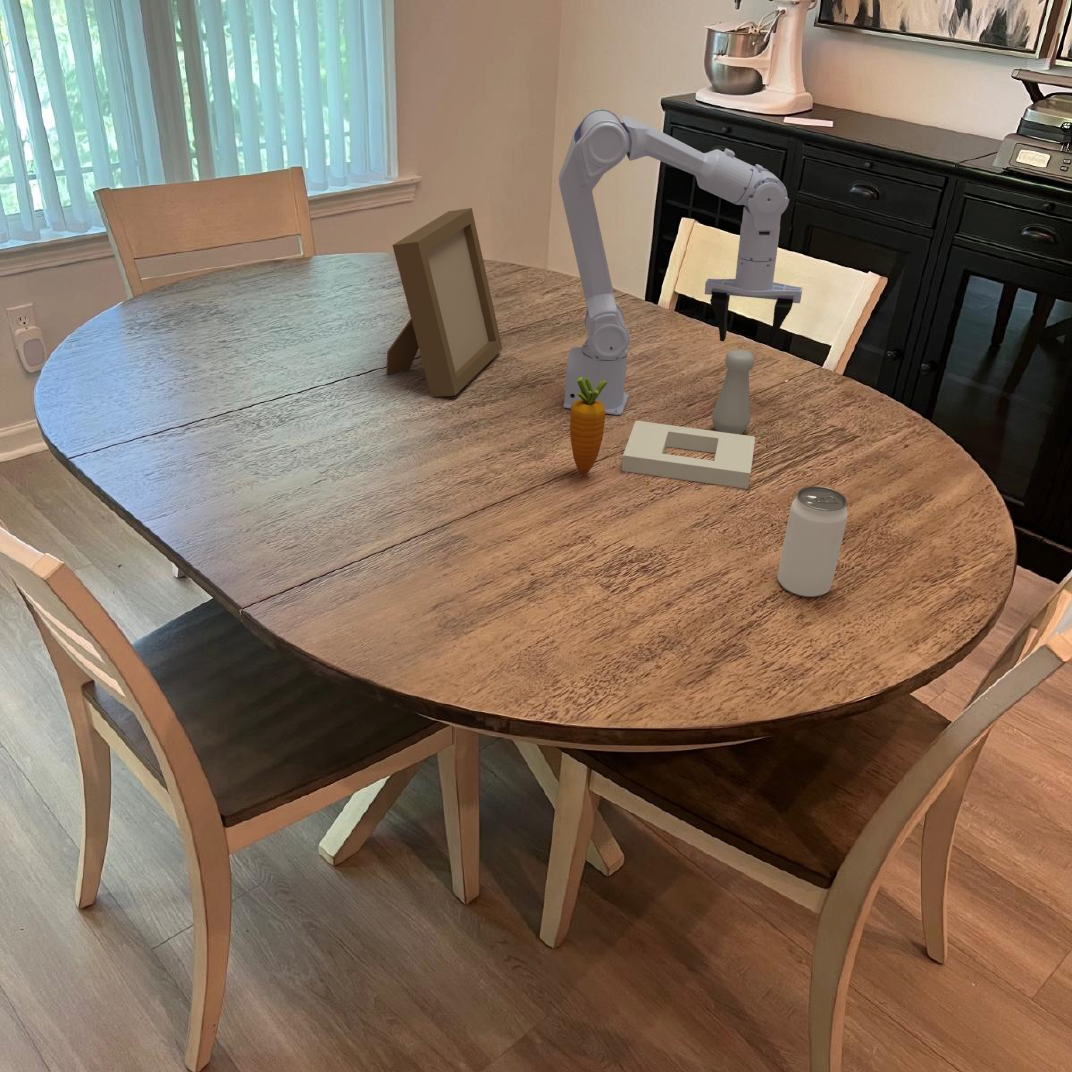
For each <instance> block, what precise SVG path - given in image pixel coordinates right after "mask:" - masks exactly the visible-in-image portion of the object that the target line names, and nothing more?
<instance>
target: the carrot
mask: <svg viewBox="0 0 1072 1072" xmlns="http://www.w3.org/2000/svg"><path fill="white" fill-rule="evenodd" d="M584 380H585V381H584ZM577 383H578V385H579V387H580V390H581V392H582V393H581V392H578V393H577V395H578V396H579V397H580V398H581V399H580V400H577V401H575V402H574V403H572V405H571V409H570V413H569V414H570V415H569V417H570V418H569V419H570V421H569V429H570V430H569V433H570V434H569V435H570V444H571V451H572V457H573V461H574V463H575V467H576V468H577V470H578V472H579V474H580V476H583V477H584V476H586V475H587V474H588V473H589V472H590V470H592V468H593V467H594V465H595V463H596V460H597V459H598V455H599V452H600V450H601V446H602V442H603V437H604V430H605V422H606V421H605V420H606V413H605V409H604V405H603V403H602V402H600V401H597V400H596V398H597V397H598V395H599V394H600V392H601V391H602V389H603V388H604V387H605V385H606V384H607V382H606V381H604V380H602V381H601V382H600V384H599V385H598V387H597V389H596V390H594V392H593V388H592V385H591V382H590V380H589V379H588V378H586V379H583V377H580V378H578V379H577ZM585 383H586V384H585ZM586 385H587V387H586ZM587 388H588V391H589V392H588V391H587Z"/></svg>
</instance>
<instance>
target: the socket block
mask: <svg viewBox="0 0 1072 1072" xmlns="http://www.w3.org/2000/svg"><path fill="white" fill-rule="evenodd" d="M631 429H632V430H631V433H630V435H629V439H628V441H627V443H626V446H625V449H624V452H623V454H622V463H621V471H622V472H627V473H632V474H633V473H635V474H641V475H642V474H643V475H649V476H655V477H663V478H670V479H675V480H683V481H690V482H697V483H704V484H711V485H717V486H725V487H732V488H738V489H745V490H748V489H749V486H750V480H751V475H752V474H751V472H752V465H753V458H754V449H755V441H756V436H753V435H747V434H746V435H744V434H741V435H739V434H732V433H724V432H717V431H716V430H711V429H710V430H708V429H701V428H700V429H699V428H694V427H686V426H677V425H671V424H664V423H658V422H657V423H656V422H650V421H642V420H635V421H634V424H633V427H632V428H631ZM667 447H668V448H674V449H675V448H676V449H681V450H682V449H683V450H688V451H689V450H690V451H695V452H696V451H697V452H705V453H712V454H714V460H710V459H704V458H696V457H690V456H684V455H683V456H682V455H674V454H669V453H666V449H667Z"/></svg>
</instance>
